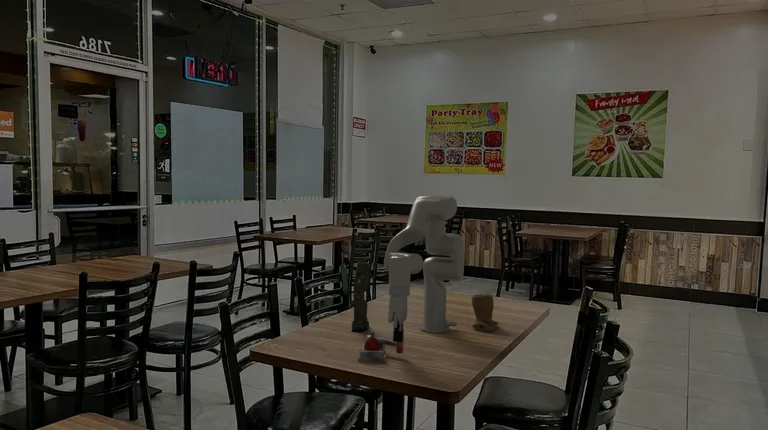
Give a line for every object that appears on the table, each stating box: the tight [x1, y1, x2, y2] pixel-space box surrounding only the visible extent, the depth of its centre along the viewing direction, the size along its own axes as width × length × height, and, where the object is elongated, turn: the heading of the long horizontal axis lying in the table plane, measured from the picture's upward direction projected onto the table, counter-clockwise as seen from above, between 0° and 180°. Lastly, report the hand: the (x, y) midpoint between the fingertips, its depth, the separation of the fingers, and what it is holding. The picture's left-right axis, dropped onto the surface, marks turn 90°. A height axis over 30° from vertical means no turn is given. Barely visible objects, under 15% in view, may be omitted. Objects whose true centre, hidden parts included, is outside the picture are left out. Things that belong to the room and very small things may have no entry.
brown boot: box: [471, 293, 499, 332], centre depth 251 cm, size 15×12×15 cm
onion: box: [363, 335, 380, 351], centre depth 208 cm, size 6×6×8 cm
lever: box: [365, 328, 405, 354], centre depth 212 cm, size 16×4×8 cm, turn 52°
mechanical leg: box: [351, 261, 372, 334], centre depth 246 cm, size 14×7×30 cm, turn 169°
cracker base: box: [357, 331, 387, 363], centre depth 211 cm, size 10×17×7 cm, turn 1°
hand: (398, 341), depth 203 cm, fingers closed
